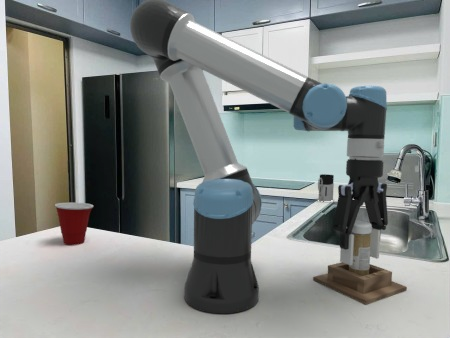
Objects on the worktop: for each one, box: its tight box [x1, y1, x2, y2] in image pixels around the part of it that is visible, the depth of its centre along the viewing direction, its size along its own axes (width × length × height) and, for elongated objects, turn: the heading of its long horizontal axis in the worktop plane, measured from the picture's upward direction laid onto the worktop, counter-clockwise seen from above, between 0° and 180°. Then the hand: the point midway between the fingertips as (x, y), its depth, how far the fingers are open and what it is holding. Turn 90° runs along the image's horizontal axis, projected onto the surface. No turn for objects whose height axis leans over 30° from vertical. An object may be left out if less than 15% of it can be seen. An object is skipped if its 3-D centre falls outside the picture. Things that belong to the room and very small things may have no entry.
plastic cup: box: [54, 202, 94, 246], centre depth 106 cm, size 11×11×12 cm
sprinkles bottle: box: [349, 220, 372, 276], centre depth 77 cm, size 5×5×14 cm
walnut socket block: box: [312, 262, 408, 306], centre depth 78 cm, size 14×14×4 cm
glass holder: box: [317, 173, 335, 201], centre depth 193 cm, size 9×14×15 cm, turn 139°
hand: (359, 259), depth 78 cm, fingers open, 8 cm apart
